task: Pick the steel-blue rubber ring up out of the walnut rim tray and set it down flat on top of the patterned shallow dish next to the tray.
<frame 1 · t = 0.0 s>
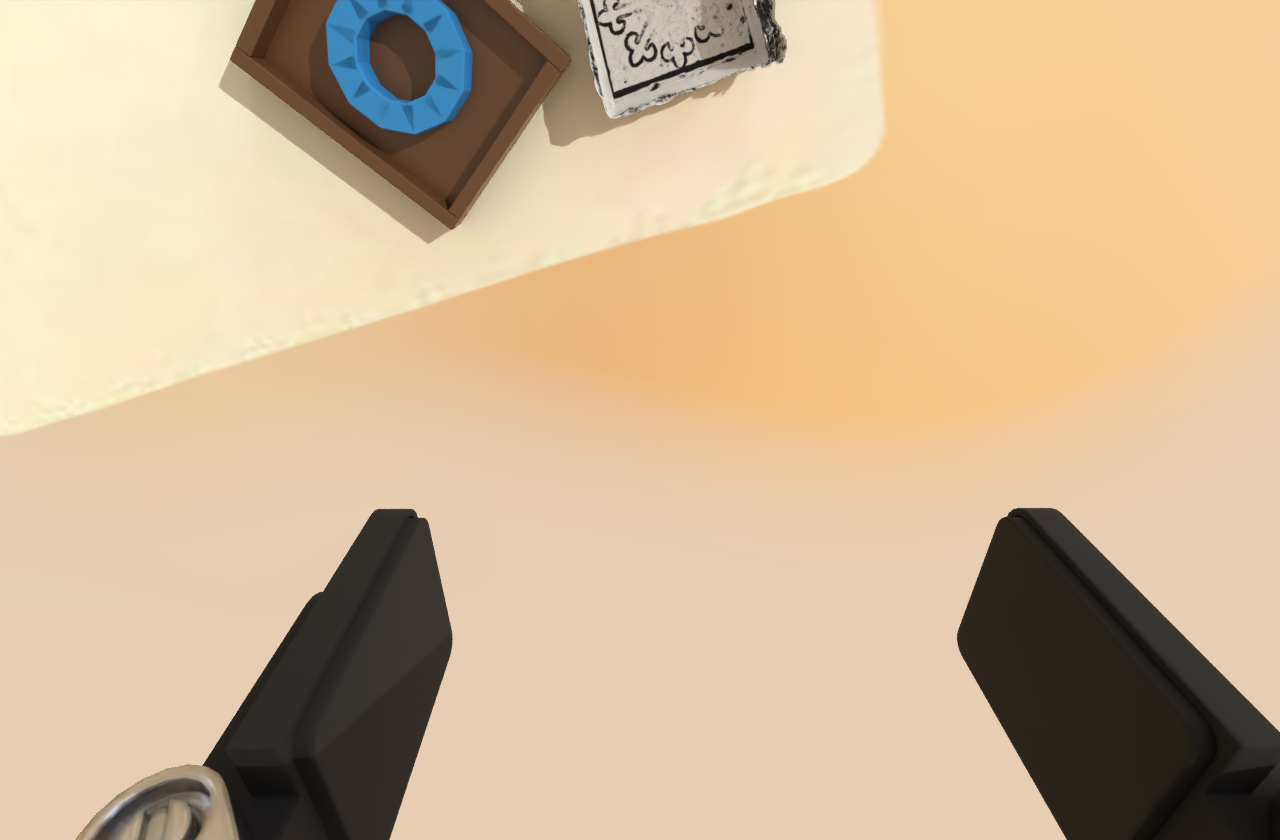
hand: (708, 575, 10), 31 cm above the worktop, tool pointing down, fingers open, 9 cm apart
ring: (407, 59, 33), resting on tray
tray: (410, 59, 33), on the worktop
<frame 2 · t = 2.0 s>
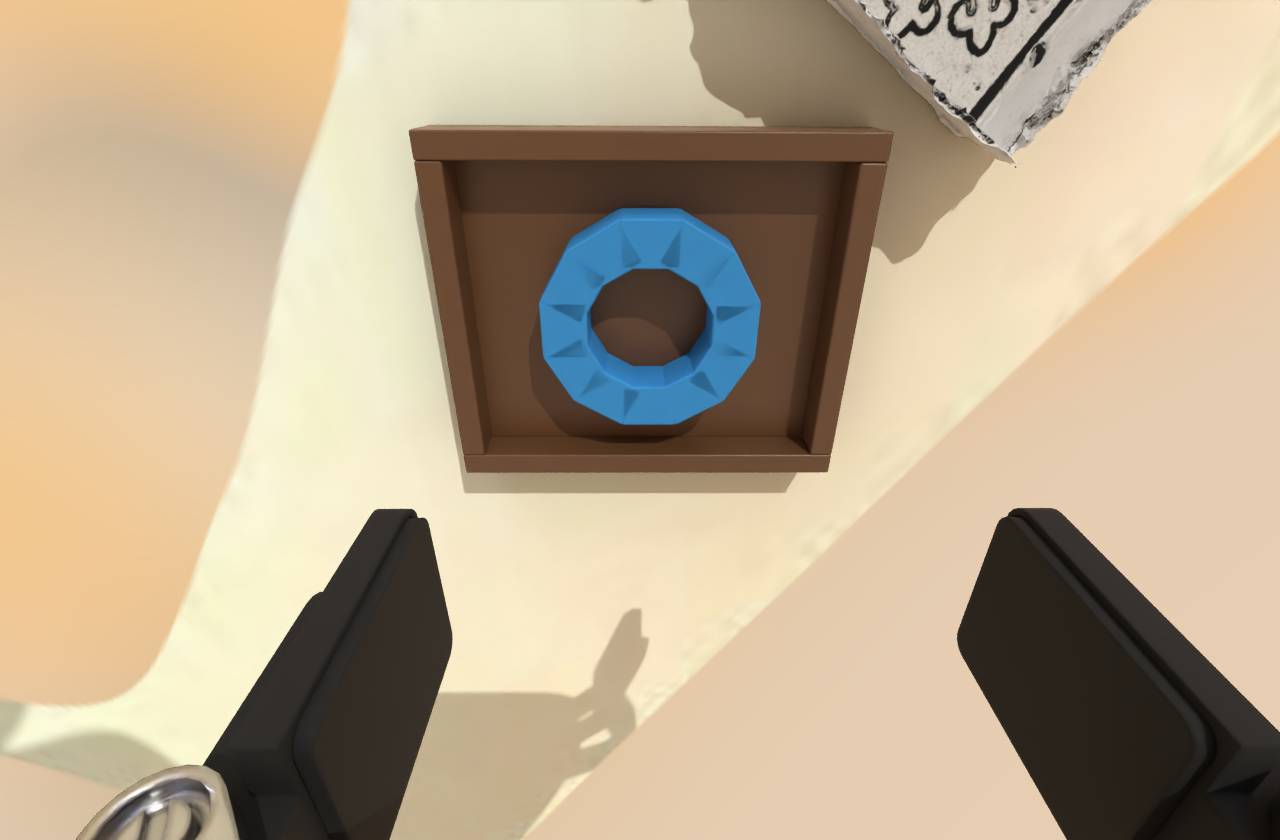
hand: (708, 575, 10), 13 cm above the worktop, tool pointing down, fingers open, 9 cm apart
ring: (648, 312, 21), resting on tray
tray: (648, 307, 21), on the worktop
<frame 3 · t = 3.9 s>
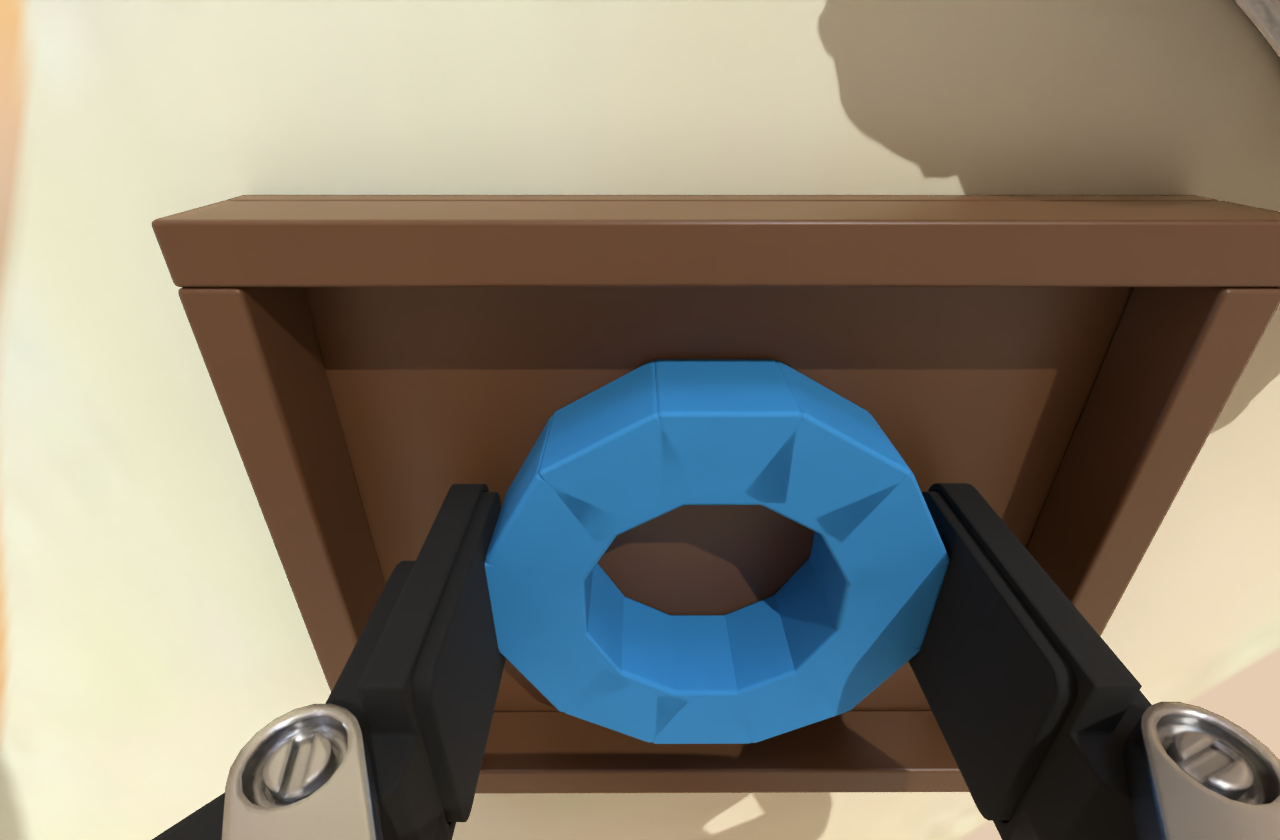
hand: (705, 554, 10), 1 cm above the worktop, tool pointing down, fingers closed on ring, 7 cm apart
ring: (702, 534, 11), point 1 cm above the worktop, touching gripper, tray
tray: (699, 517, 11), on the worktop
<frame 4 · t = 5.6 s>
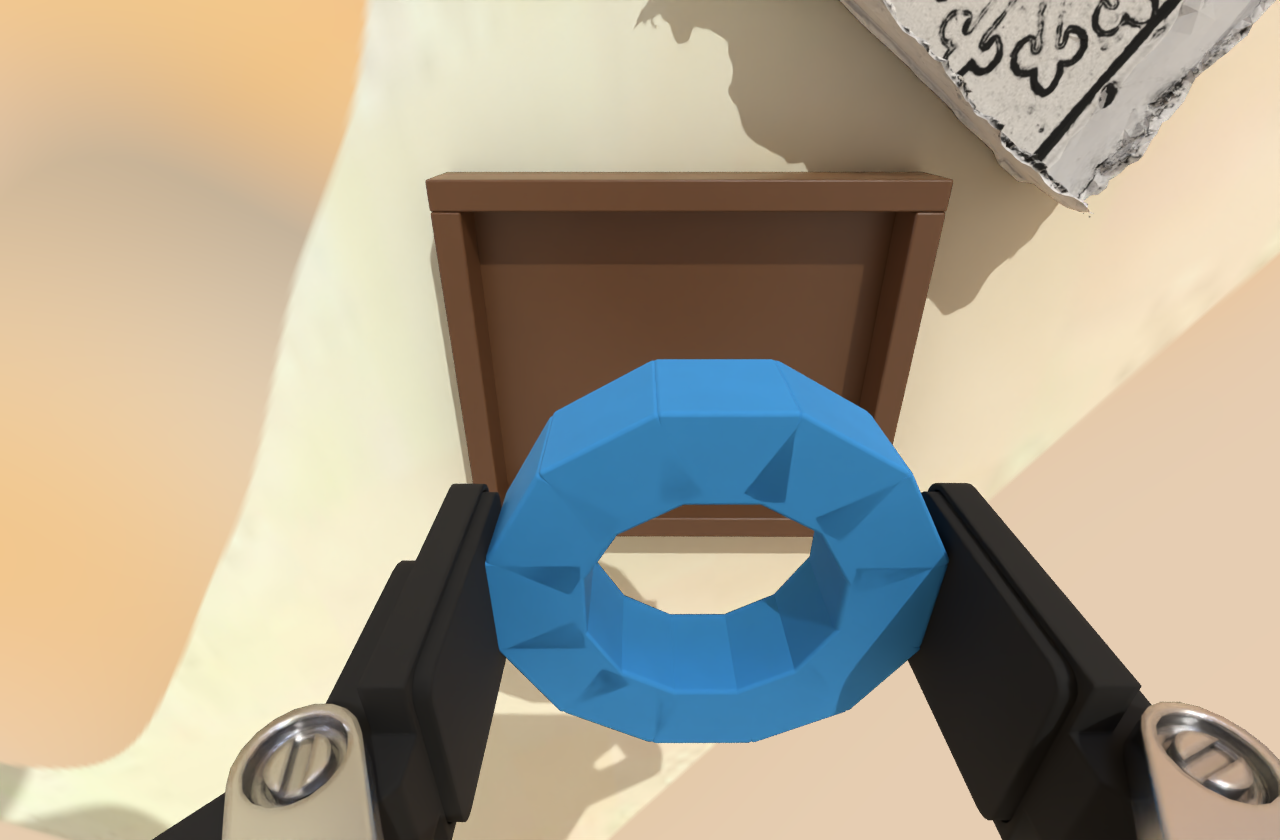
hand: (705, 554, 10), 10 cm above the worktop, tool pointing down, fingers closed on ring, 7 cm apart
ring: (702, 534, 11), point 10 cm above the worktop, touching gripper
tray: (678, 361, 20), on the worktop
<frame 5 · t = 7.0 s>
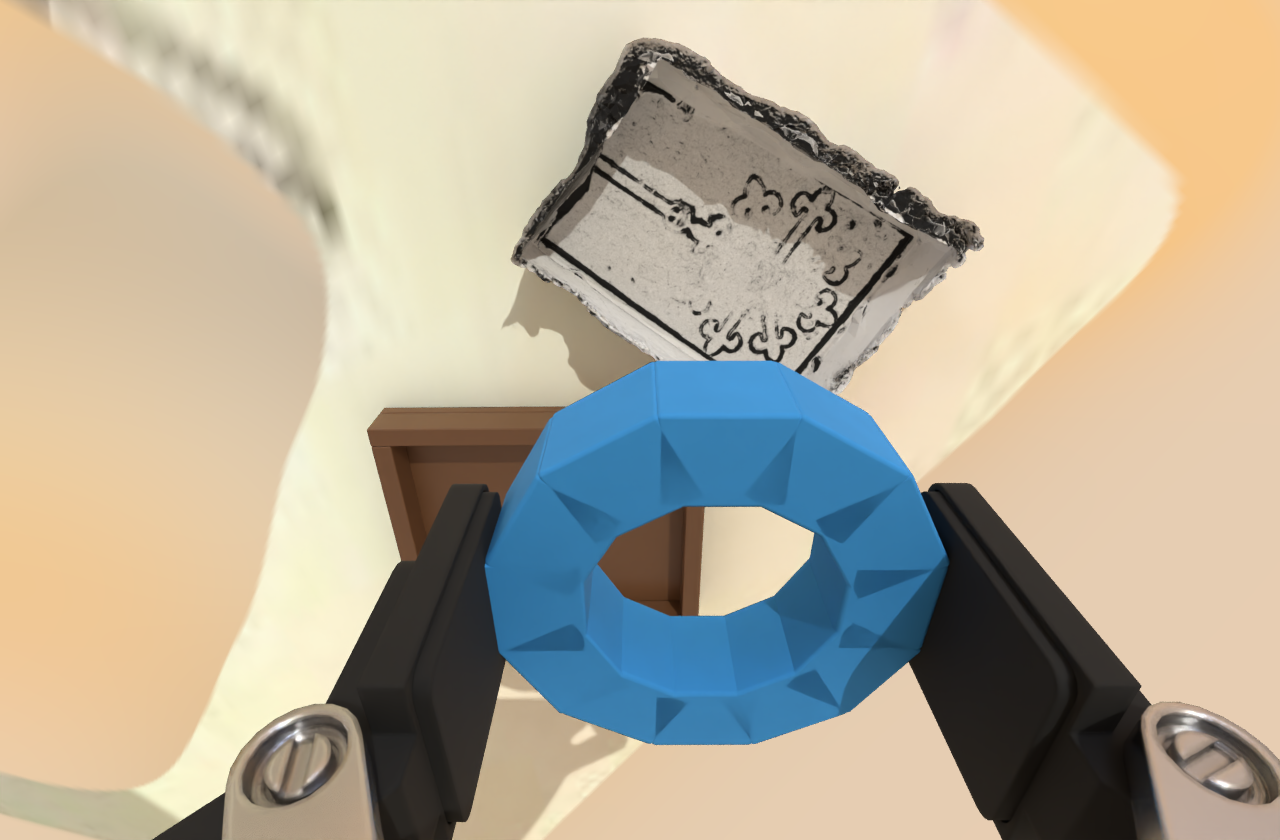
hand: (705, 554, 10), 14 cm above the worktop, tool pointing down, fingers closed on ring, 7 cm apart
ring: (702, 535, 11), point 14 cm above the worktop, touching gripper
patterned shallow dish: (730, 243, 22), on the worktop
tray: (554, 515, 28), on the worktop
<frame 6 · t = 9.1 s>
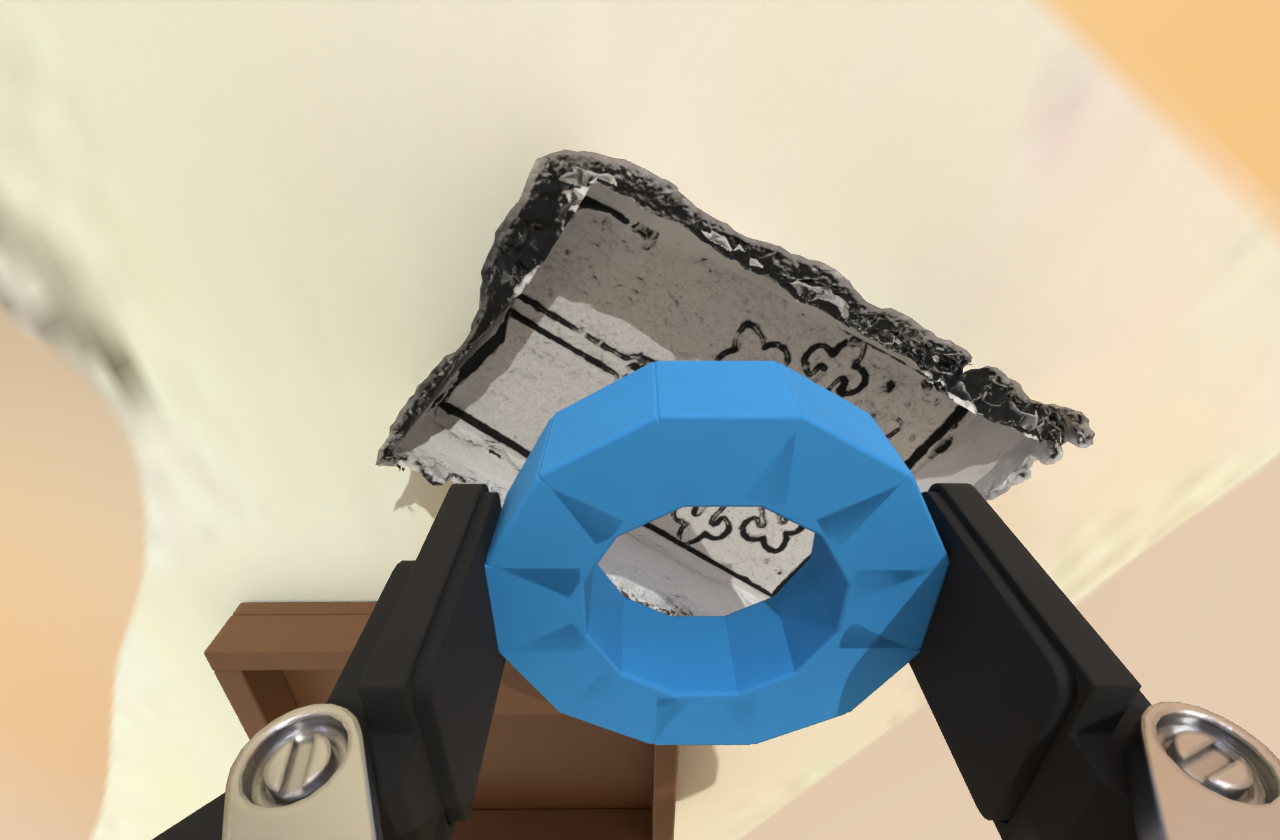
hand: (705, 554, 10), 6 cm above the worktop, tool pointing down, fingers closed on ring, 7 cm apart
ring: (702, 535, 11), point 5 cm above the worktop, touching gripper
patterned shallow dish: (714, 406, 16), on the worktop
tray: (484, 717, 21), on the worktop
when the fingers open (3 cm above the worktop, at t = 10.3 s): ring stays where it is, resting on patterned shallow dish.
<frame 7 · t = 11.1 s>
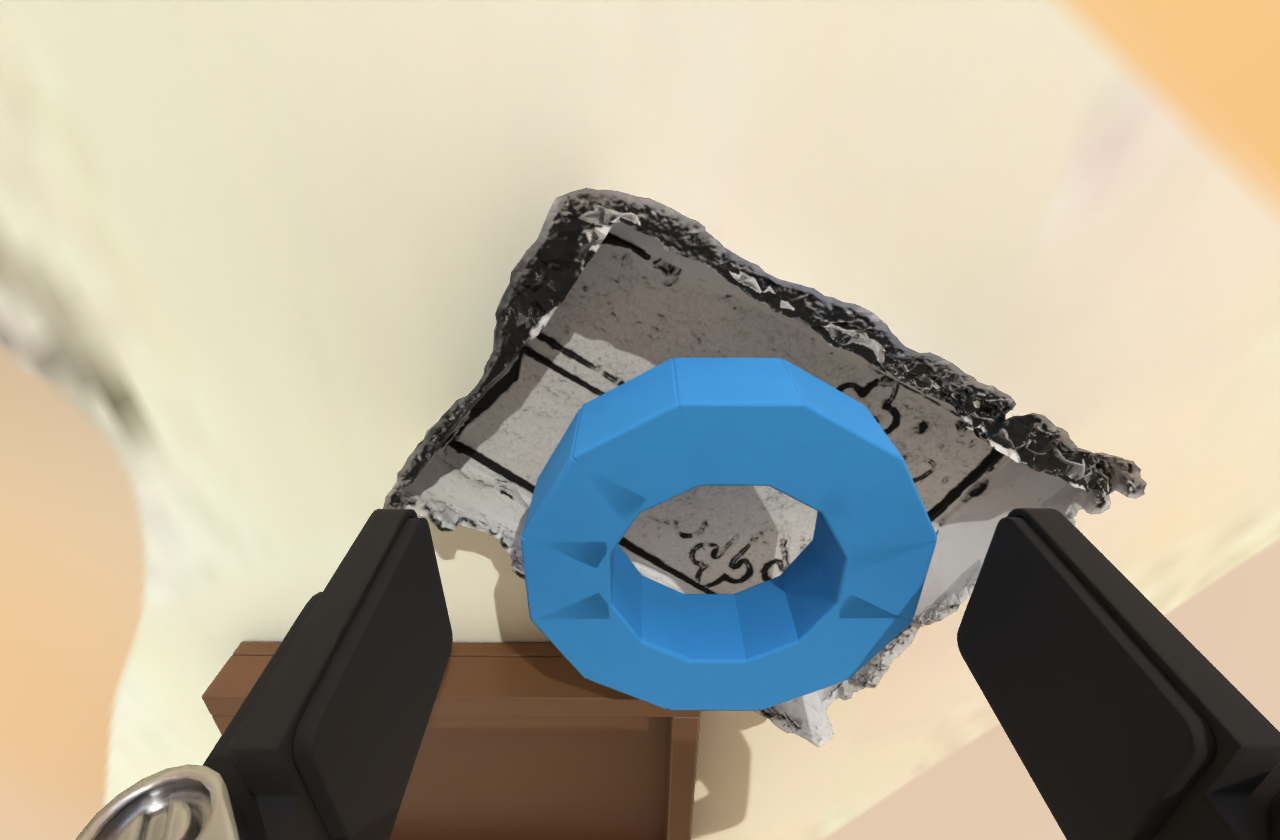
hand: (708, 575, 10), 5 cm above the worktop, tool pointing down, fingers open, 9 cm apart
ring: (714, 518, 12), point 3 cm above the worktop, touching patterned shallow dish
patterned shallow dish: (736, 446, 15), on the worktop, touching ring
tray: (491, 759, 21), on the worktop
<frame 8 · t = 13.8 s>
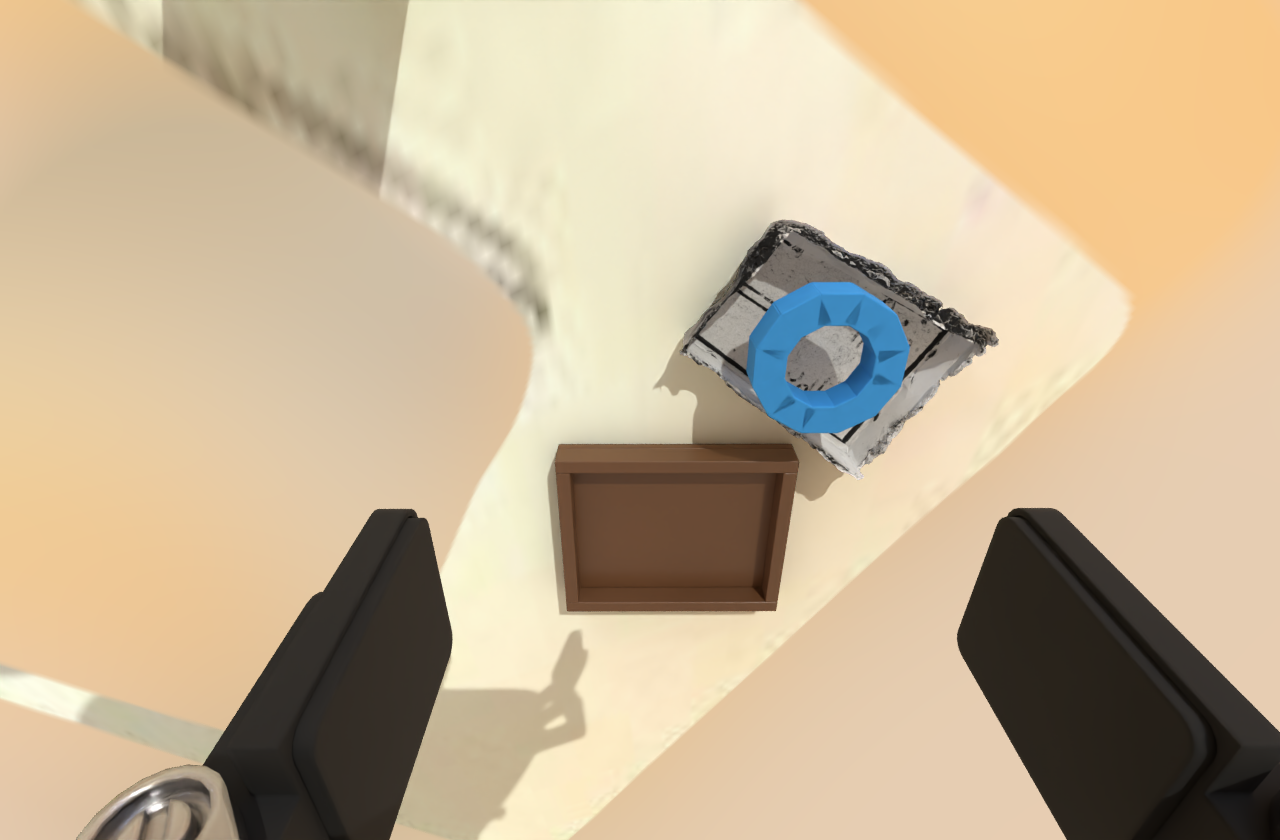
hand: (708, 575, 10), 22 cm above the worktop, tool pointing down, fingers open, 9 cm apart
ring: (819, 352, 29), point 3 cm above the worktop, touching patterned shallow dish
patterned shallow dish: (820, 333, 32), on the worktop, touching ring
tray: (672, 522, 38), on the worktop
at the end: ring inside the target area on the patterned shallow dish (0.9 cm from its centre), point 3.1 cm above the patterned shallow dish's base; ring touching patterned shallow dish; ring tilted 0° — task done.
